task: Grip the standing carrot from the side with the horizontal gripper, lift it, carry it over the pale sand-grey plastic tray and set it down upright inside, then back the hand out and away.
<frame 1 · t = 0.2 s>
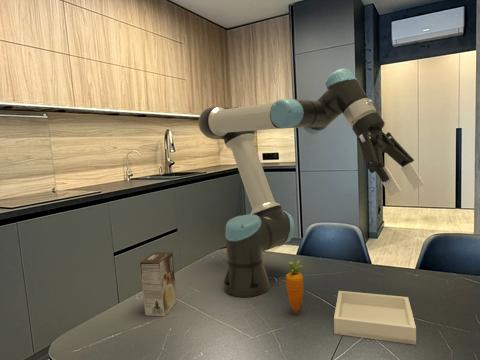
hand: (408, 189, 84), 34 cm above the table, tool tilted 35°, fingers open, 13 cm apart
carrot: (296, 313, 96), on the table
tray: (373, 321, 89), on the table
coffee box: (161, 309, 103), on the table
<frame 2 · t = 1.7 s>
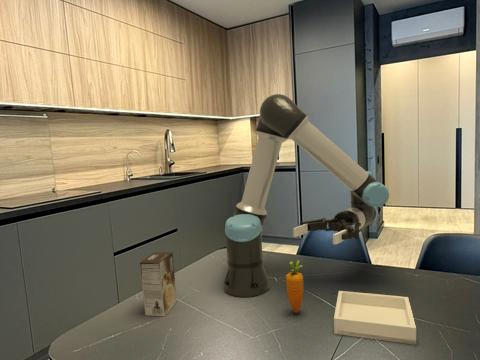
hand: (313, 236, 100), 20 cm above the table, tool horizontal, fingers open, 13 cm apart
nothing on the table moved.
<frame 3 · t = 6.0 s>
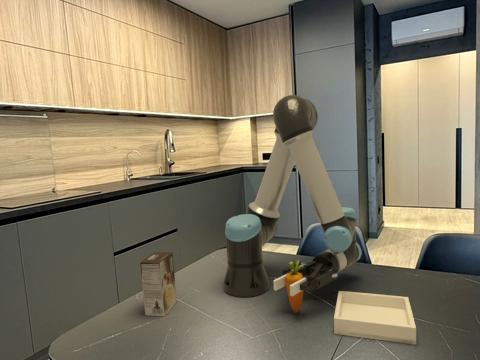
hand: (282, 288, 91), 9 cm above the table, tool horizontal, fingers closed on carrot, 5 cm apart
carrot: (295, 313, 96), on the table, touching gripper
everything else where it was.
when the fingers open (11 cm above the table, at t = 11.9 s): carrot drops 1 cm, resting on tray.
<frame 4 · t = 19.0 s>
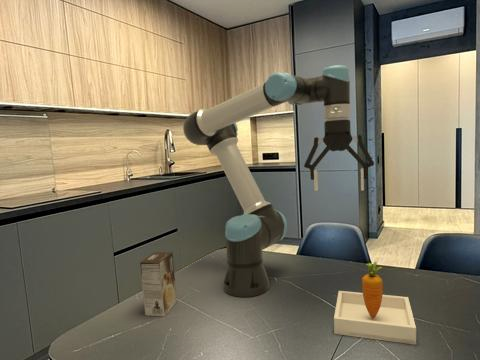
hand: (338, 190, 105), 32 cm above the table, tool pointing down, fingers open, 13 cm apart
carrot: (372, 318, 89), point 1 cm above the table, touching tray
everything else where it was.
at the end: carrot inside the target area on the tray (0.0 cm from its centre), point 0.8 cm above the tray's base; carrot tilted 0°; the gripper is holding nothing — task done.
